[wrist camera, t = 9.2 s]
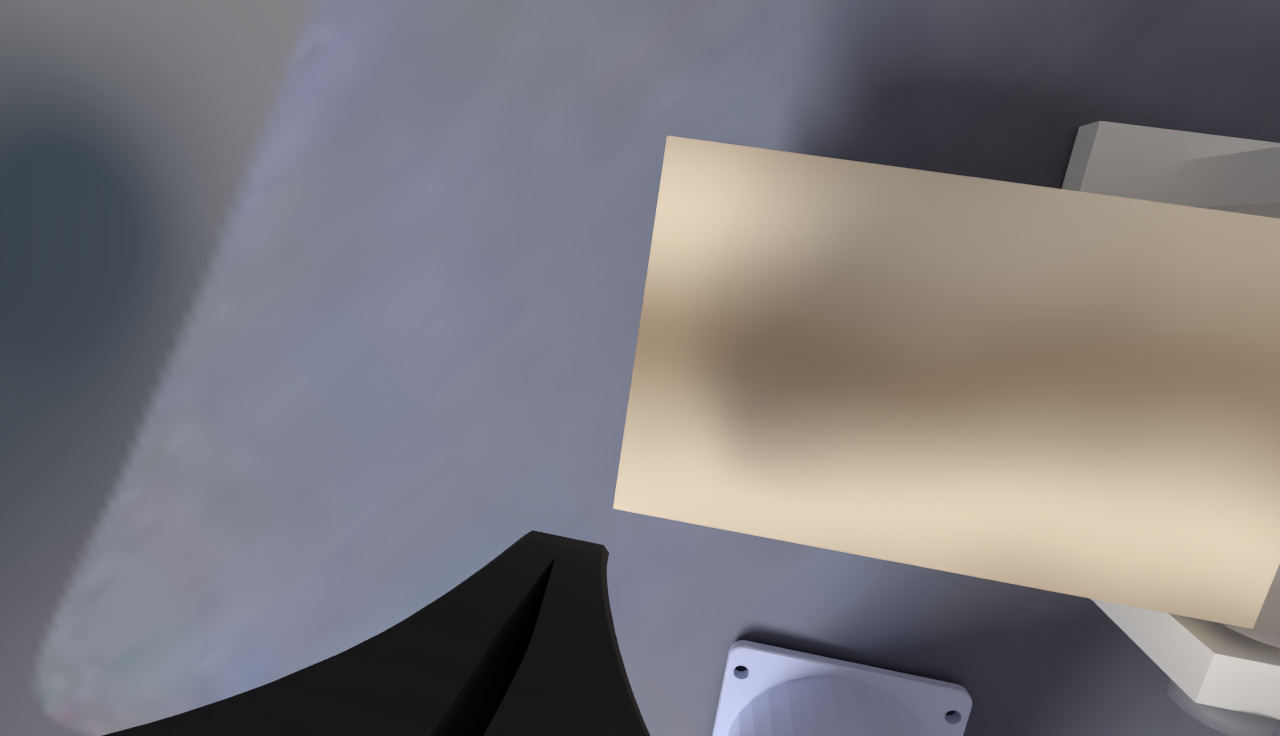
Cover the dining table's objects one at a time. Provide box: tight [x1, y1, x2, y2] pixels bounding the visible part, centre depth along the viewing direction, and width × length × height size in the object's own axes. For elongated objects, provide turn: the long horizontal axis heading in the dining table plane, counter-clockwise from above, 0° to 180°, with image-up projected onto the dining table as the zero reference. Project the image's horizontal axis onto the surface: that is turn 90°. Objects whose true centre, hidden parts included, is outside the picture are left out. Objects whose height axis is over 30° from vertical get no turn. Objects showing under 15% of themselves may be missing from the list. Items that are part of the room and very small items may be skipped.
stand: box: [1062, 121, 1280, 736], centre depth 15 cm, size 13×7×7 cm, turn 172°
